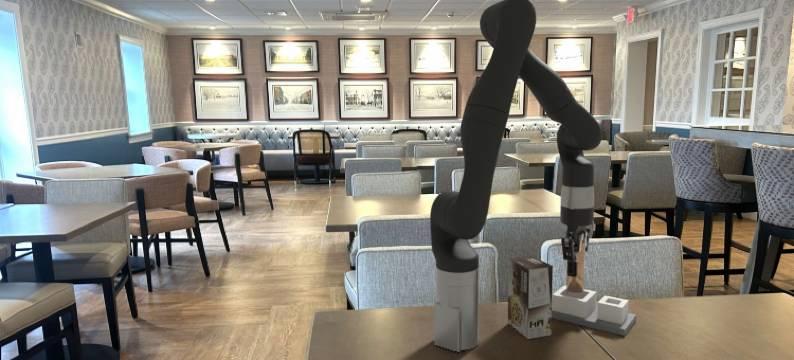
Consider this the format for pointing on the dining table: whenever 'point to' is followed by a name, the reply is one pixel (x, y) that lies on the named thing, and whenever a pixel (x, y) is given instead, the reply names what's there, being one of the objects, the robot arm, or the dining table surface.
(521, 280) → the coffee box
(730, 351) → the dining table surface
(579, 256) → the copper pipe
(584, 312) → the socket plate
